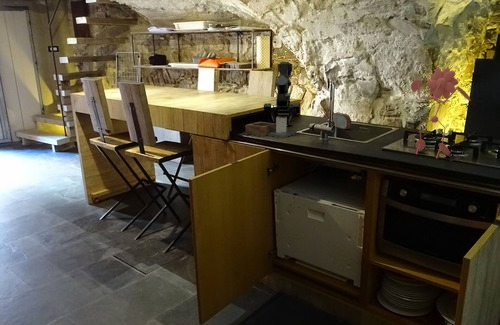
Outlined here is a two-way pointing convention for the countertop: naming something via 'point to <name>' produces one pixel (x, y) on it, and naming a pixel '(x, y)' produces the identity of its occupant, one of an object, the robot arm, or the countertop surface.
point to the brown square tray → (260, 128)
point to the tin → (342, 120)
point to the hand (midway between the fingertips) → (281, 121)
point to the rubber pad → (281, 134)
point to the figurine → (439, 86)
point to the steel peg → (281, 125)
